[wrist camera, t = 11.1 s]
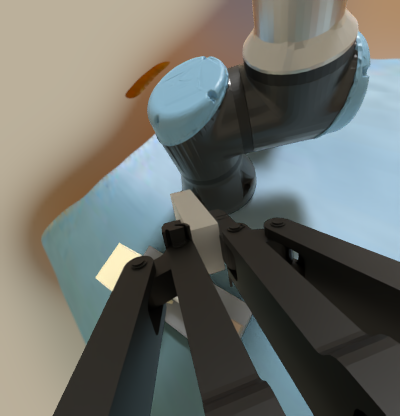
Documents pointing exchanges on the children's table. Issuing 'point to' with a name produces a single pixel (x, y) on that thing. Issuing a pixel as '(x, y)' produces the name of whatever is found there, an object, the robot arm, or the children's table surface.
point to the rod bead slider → (232, 304)
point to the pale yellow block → (116, 266)
